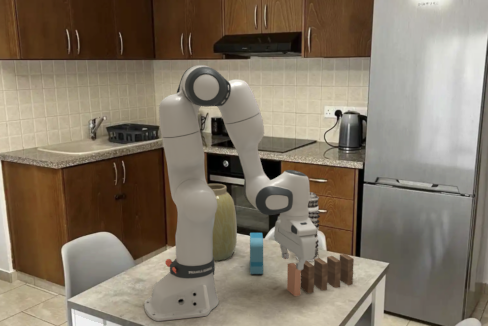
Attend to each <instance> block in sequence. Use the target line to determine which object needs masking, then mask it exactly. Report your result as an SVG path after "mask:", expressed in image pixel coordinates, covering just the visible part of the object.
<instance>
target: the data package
mask: <svg viewBox="0 0 488 326" xmlns="http://www.w3.org/2000/svg"><path fill="white" fill-rule="evenodd" d="M249 272H250V273H249V274H250V275H263V274H264V236H263V232H250V233H249Z"/></svg>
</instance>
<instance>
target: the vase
mask: <svg viewBox="0 0 488 326" xmlns="http://www.w3.org/2000/svg"><path fill="white" fill-rule="evenodd" d="M207 185H208V186H209V187H210V188H211V189H212V190H213V192H214V193H215V196H216V200H217V210H216V213H215V220H214V226H213V237H212V241H213V257H214V262H216V261H222V260H223V261H224V260H226V259H228V258H230V257H232V255H233V253H234V251H235V249H236V246H237V242H238V241H237V239H238V238H237V235H238V232H237V231H238V230H237V229H238V227H237V214H236V206H235V201H234V198H233V197H232V196H231V195H230V193H229V192H228V191H227V189H228V188H227V185H225V184H222V183H207Z"/></svg>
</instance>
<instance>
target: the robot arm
mask: <svg viewBox="0 0 488 326" xmlns="http://www.w3.org/2000/svg"><path fill="white" fill-rule="evenodd" d="M201 107H207V108H208V107H217V109H218V110H219V113H220V114H221V117H222V121H223V123H224V126H225V130H226V131H227V134H228V136H229V139H230V140H231V142H232V144H233V146H234V148H235V150H236V152H237V156H238V158H239V162H240V166H241V168H242V169H241V170H242V173H243V177H244V180H243V182H244V183H243V195H244V199H245V200H246V202H248V203H249V204H250V205H252V206H253V207H254V208H255V209H256V210H257V211H259V212H260V213H262V214H263V215H266V216H272V215H273V216H274V215H278V214H279V215H278V216H277V220H276V221H275V224H274V232H273V234H274V235H273V237H274V241H275V242H276V243H278V244H279V245H280V246H279V247H280V251H281V257H282V258H281V259H283V260H288V259H290V258H289V255H290V254H289V252H290V253H291V254H294V255H295V257H296V256H298V259H297V260H298V262H297V263H295V265H296V268H297V269H298V270H303V267H304V263H305V261H306V260H312V259H313V258H314V256H315V244H316V240H315V236H314V234H316V233H317V234H318V230H317V228H316V227H315V225H314V224H313V223H312V221H311V220H310V218H309V211H308V203H309V197H310V192H311V191H310V188H311V187H310V179H309V177H308V175H306V174H305V173H303V172H301V171H298V170H293V169H287V170H284V171H283V172H282V173H281V174H280V175H278V176H277V177H275V178H273V179H270V178H269V177H268V176H267V174H266V173H265V171H264V169H263V165H262V162H261V161H262V160H261V158H260V153H259V148H258V147H259V144H260V142H261V141H262V140H263V138H264V135H265V125H264V120H263V117H262V113H261V110H260V107H259V103H258V102H257V99H256V97H255V94H254V93H253V91H252V89H251V87H250V85H249V83H248V82H246V80H244V79H238V78H237V79H235V78H234V79H231V80H227V78H225V77H224V76H223V75H222V74H221V73H220V72H219V71H218V70H216V69H214V68H213V67H210V66H208V65H205V64H197V65H193V66H191V67H189V68H187V69H186V70H184V73H183V74H182V76H181V78H180V82H179V85H178V88H177V90H176V93H174V94H170V95H167V96H166V97H164V98H162V100H161V101H160V102H159V106H158V114H159V115H158V116H159V117H158V118H159V119H158V120H159V129H160V135H161V139H162V145H163V149H164V150H163V151H164V156H165V160H166V164H167V165H166V166H167V174H168V182H169V190H170V193H171V194H170V195H171V199H172V201H173V203H174V204H175V205H176V210H177V220H176V221H177V223H176V231H175V236H174V238H175V259H174V260H173V261H172V259H170V258H167V259H166V260H165V265H166V267H168V268H169V272H168V273H167V274H165V275H164V276H163V277H162V278H161V279H160V280H158V281H157V282H156V283H155V284H154V285H153V286H152V291H151V296H150V297H147V298H146V299H145V301H144V305H143V307H144V311H145V313H146V315H147V316H148V317H149V318H150V319H152V320H153V321H157V322H160V321H161V322H162V321H170V320H171V321H172V320H179V319H190V318H198V317H206V316H209V314H210V312H211V311H212V310H213V309H215V308H216V307H217V306H218V305H219V296H218V293H217V290H216V289H217V288H216V286H215V285H216V284H215V269H216V267H215V266H216V264H215V263H216V262H215V261H214V257H213V241H212V237H213V226H214V220H215V213H216V210H217V200H216V196H215V193H214V192H213V190H212V189H211V188H210V187H209V186H208V185H207V184H208V182H207V180H206V172H205V171H206V170H205V151H204V150H205V149H204V145H203V139H202V133H201V128H200V124H199V116H198V115H199V110H200V108H201Z"/></svg>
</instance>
